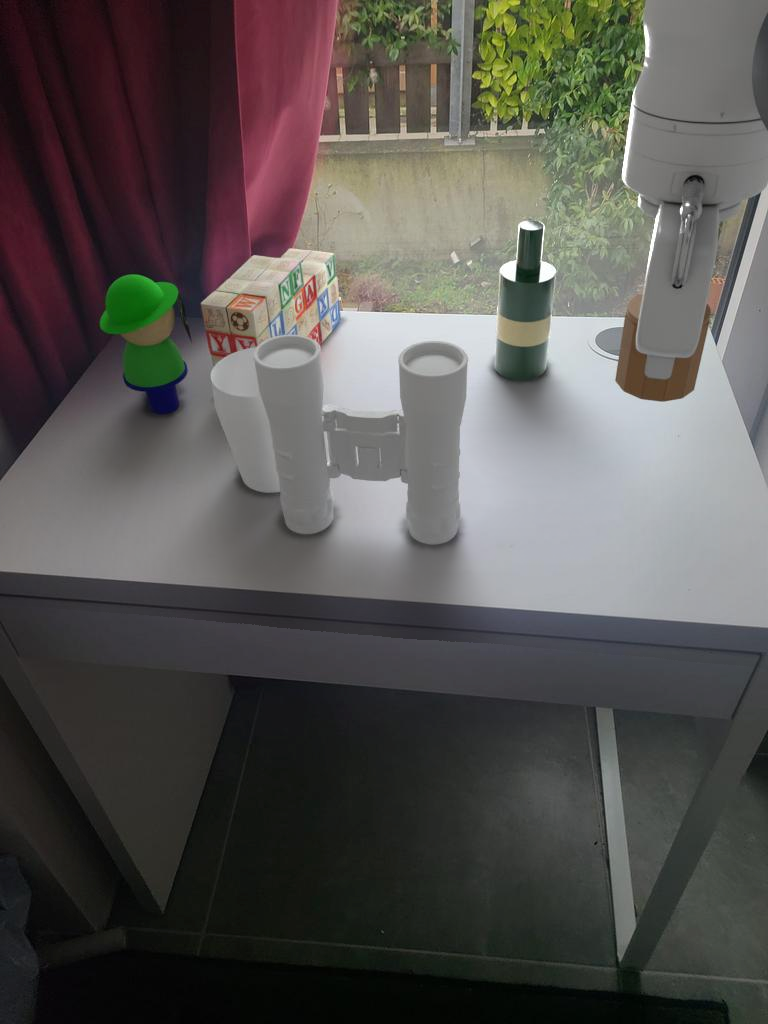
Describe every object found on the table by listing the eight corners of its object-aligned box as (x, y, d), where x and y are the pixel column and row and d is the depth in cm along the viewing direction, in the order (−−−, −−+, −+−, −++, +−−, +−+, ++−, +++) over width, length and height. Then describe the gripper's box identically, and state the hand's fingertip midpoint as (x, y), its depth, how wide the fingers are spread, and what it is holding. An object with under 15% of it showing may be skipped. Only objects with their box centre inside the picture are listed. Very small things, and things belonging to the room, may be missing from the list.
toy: (208, 411, 91) (181, 286, 81) (130, 430, 89) (92, 304, 79) (192, 373, 98) (165, 252, 88) (119, 389, 95) (83, 268, 85)
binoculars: (465, 511, 77) (470, 341, 65) (459, 551, 73) (465, 378, 61) (288, 497, 79) (263, 332, 67) (274, 535, 75) (244, 367, 63)
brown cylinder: (695, 365, 63) (711, 293, 59) (692, 405, 59) (710, 330, 55) (619, 357, 64) (630, 286, 60) (612, 395, 60) (623, 322, 56)
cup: (299, 437, 87) (286, 336, 79) (333, 484, 81) (322, 380, 73) (218, 462, 84) (196, 361, 76) (247, 513, 78) (226, 408, 70)
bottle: (550, 357, 97) (565, 216, 86) (541, 384, 93) (556, 239, 81) (499, 351, 99) (508, 211, 87) (488, 377, 94) (496, 234, 83)
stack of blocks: (298, 314, 108) (287, 223, 99) (342, 321, 106) (334, 228, 98) (219, 401, 93) (198, 301, 85) (268, 410, 91) (252, 309, 83)
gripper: (754, 219, 43) (701, 434, 52) (750, 108, 57) (709, 292, 66) (630, 211, 44) (600, 421, 53) (656, 105, 59) (629, 285, 68)
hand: (660, 348), depth 60 cm, fingers closed on brown cylinder, 6 cm apart
